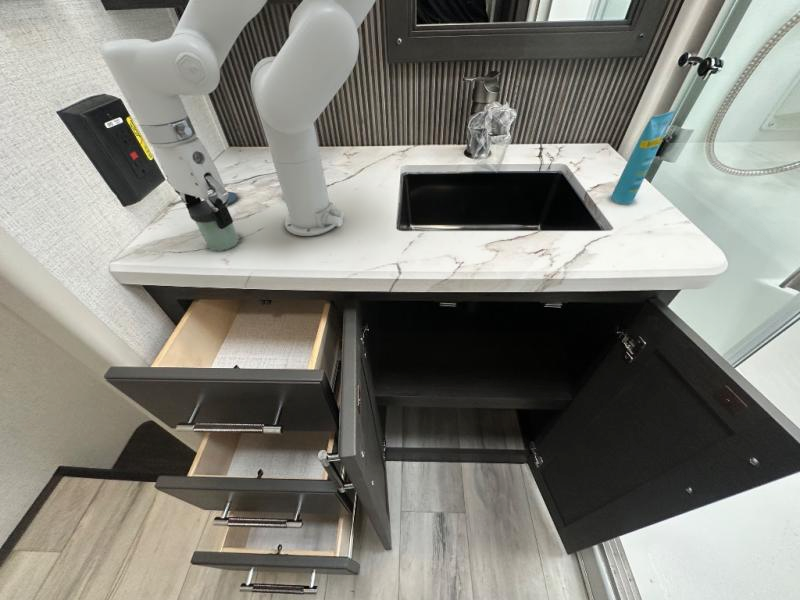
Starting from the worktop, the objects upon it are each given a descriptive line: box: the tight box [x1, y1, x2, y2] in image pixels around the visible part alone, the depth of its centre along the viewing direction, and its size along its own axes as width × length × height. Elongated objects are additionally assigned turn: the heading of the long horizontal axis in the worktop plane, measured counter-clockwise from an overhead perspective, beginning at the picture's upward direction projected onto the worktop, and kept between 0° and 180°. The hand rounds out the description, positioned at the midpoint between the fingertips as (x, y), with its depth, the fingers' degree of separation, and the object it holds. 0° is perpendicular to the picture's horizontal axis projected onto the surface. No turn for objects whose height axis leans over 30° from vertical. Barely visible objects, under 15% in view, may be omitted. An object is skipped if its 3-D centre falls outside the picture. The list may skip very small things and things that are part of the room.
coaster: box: [211, 191, 239, 207], centre depth 87 cm, size 8×8×1 cm
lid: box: [187, 199, 216, 223], centre depth 67 cm, size 7×7×2 cm
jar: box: [194, 220, 240, 252], centre depth 70 cm, size 6×6×8 cm
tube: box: [610, 109, 676, 205], centre depth 74 cm, size 7×5×19 cm, turn 123°
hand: (213, 221), depth 69 cm, fingers closed on lid, 6 cm apart
